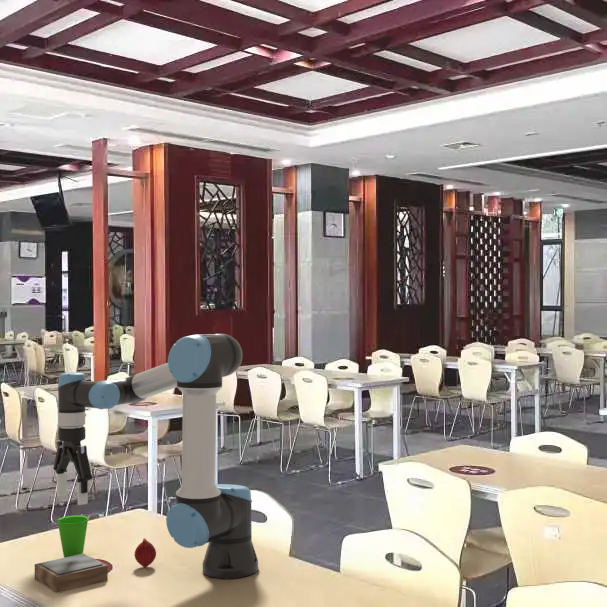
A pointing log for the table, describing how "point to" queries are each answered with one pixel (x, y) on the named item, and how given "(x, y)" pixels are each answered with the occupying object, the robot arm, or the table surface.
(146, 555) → the onion
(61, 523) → the cup
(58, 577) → the flat stove
